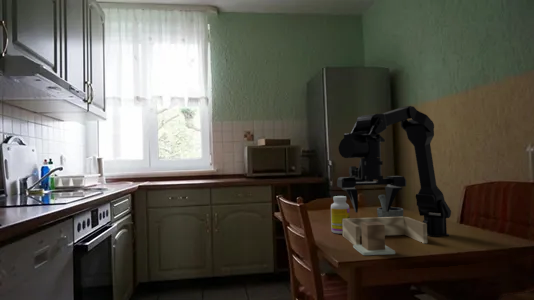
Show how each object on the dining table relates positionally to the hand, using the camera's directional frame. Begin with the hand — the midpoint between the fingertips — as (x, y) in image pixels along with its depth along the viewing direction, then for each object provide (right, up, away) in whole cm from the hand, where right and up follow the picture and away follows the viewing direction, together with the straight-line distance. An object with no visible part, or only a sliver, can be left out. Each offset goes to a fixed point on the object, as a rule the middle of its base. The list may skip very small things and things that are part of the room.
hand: (371, 211), depth 107 cm
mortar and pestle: (+17, -12, +35) cm, 41 cm away
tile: (0, -11, 0) cm, 11 cm away
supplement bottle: (-4, -12, +27) cm, 29 cm away
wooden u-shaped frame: (+7, -11, +12) cm, 18 cm away
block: (0, -10, 0) cm, 10 cm away
